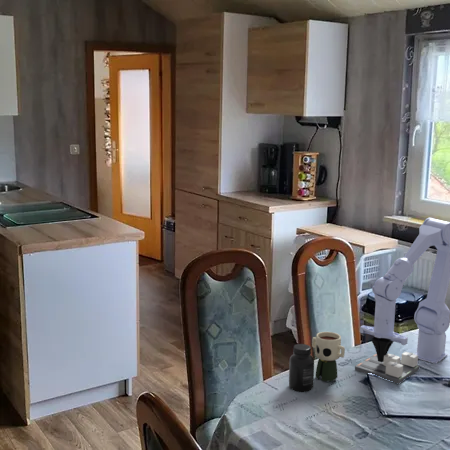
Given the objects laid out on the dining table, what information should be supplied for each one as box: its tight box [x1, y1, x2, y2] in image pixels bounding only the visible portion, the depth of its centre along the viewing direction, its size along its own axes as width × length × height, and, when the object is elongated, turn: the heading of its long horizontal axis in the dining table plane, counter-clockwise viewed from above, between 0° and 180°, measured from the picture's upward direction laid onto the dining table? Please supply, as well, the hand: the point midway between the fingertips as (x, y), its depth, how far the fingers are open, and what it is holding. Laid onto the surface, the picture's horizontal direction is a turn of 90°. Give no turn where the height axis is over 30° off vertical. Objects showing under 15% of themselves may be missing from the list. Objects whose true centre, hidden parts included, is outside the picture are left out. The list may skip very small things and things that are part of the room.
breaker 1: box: [385, 361, 403, 378], centre depth 177 cm, size 3×4×3 cm, turn 48°
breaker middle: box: [383, 352, 401, 366], centre depth 183 cm, size 3×4×3 cm, turn 48°
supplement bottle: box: [288, 343, 315, 393], centre depth 171 cm, size 7×7×12 cm
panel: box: [354, 353, 421, 385], centre depth 184 cm, size 14×14×1 cm
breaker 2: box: [400, 351, 419, 367], centre depth 185 cm, size 3×4×3 cm, turn 48°
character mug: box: [311, 331, 346, 382], centre depth 177 cm, size 11×7×13 cm, turn 46°
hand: (381, 360), depth 186 cm, fingers closed
